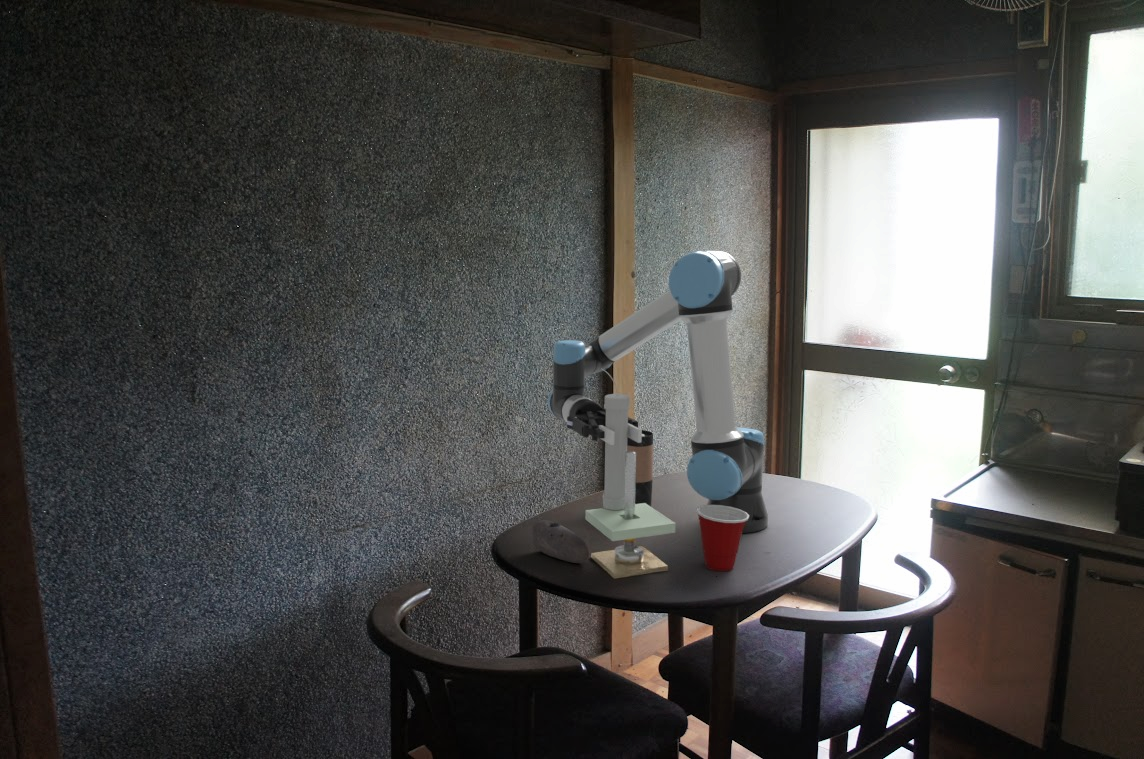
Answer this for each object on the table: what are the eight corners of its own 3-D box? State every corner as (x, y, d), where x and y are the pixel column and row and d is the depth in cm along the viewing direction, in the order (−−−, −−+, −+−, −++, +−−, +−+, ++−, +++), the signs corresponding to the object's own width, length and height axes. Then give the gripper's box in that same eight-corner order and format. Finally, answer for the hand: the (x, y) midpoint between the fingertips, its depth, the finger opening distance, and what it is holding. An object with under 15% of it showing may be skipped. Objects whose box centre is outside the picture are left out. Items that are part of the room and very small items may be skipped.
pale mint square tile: (585, 519, 181) (585, 510, 181) (644, 511, 186) (645, 502, 186) (612, 541, 168) (612, 531, 168) (675, 532, 173) (675, 523, 173)
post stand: (591, 557, 182) (592, 448, 178) (642, 550, 186) (644, 443, 182) (614, 578, 171) (616, 462, 167) (667, 570, 175) (670, 456, 171)
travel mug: (658, 513, 211) (660, 434, 207) (633, 518, 207) (635, 438, 203) (638, 505, 217) (640, 428, 214) (614, 510, 213) (615, 432, 209)
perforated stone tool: (596, 565, 178) (596, 533, 177) (578, 571, 175) (578, 539, 173) (547, 546, 189) (547, 515, 188) (529, 552, 185) (529, 521, 184)
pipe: (626, 512, 180) (629, 371, 174) (596, 509, 181) (598, 370, 175) (629, 503, 185) (632, 367, 180) (601, 501, 186) (603, 366, 181)
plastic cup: (756, 573, 174) (759, 516, 172) (708, 578, 171) (710, 521, 169) (732, 554, 184) (734, 500, 182) (686, 559, 181) (687, 504, 179)
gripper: (619, 427, 201) (665, 451, 179) (545, 433, 194) (584, 458, 173) (620, 395, 199) (667, 416, 178) (546, 400, 193) (585, 422, 171)
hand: (626, 437), depth 175 cm, fingers closed on pipe, 5 cm apart
